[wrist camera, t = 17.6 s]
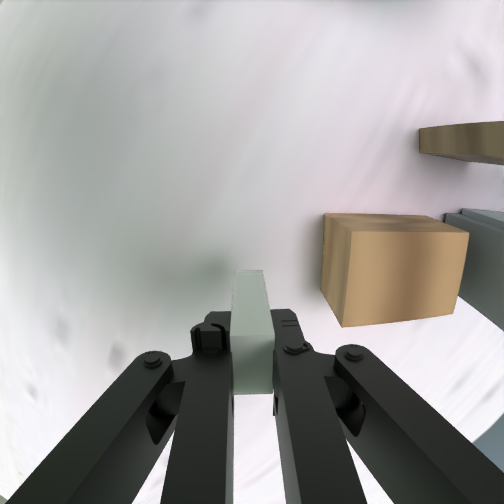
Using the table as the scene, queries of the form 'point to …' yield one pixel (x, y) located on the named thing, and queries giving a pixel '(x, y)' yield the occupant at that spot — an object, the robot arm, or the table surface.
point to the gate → (483, 261)
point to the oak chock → (390, 267)
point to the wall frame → (465, 142)
